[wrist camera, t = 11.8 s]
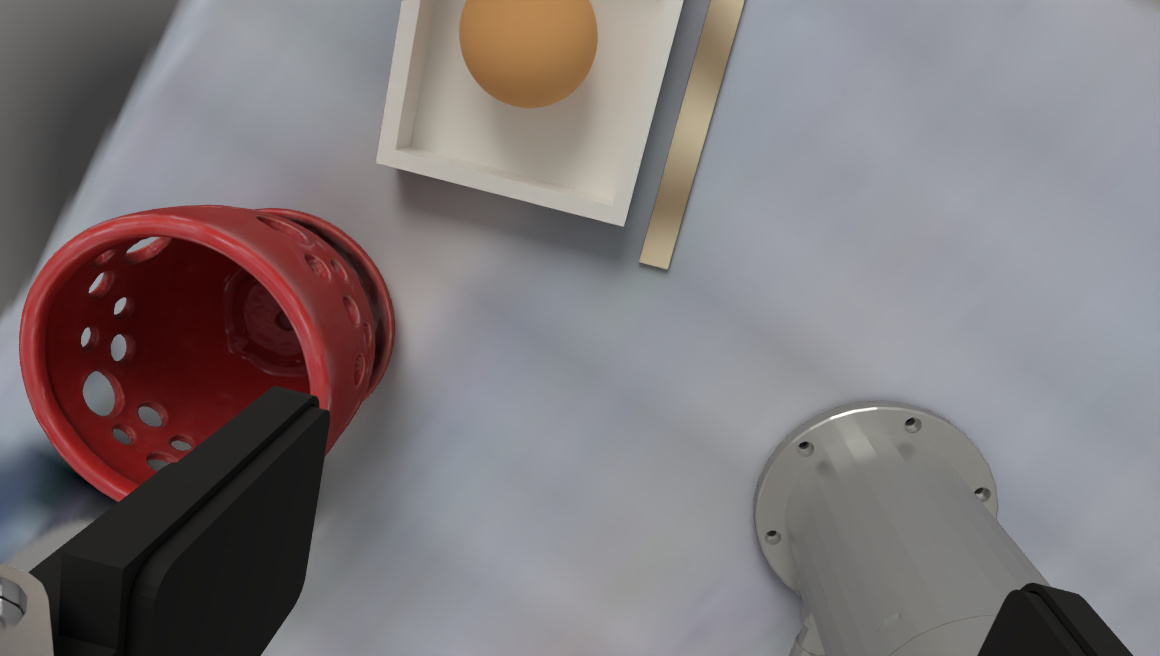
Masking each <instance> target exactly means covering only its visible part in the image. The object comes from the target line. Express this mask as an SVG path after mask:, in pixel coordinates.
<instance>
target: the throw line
mask: <svg viewBox="0 0 1160 656" xmlns="http://www.w3.org/2000/svg"><path fill="white" fill-rule="evenodd" d="M744 1H745V0H710V4H709V7H708V11H707V15H706V18H705V22H704V26H703V29H702V33H701V37H700V40H699V44H698V47H697V51H696V55H695V58H694V62H693V66H692V69H691V73H690V77H689V80H688V84H687V88H686V91H685V95H684V99H683V102H682V106H681V110H680V113H679V117H678V121H677V124H676V128H675V131H674V135H673V139H672V142H671V146H670V150H669V153H668V157H667V161H666V164H665V168H664V172H663V175H662V179H661V183H660V186H659V190H658V194H657V197H656V201H655V205H654V208H653V212H652V215H651V219H650V223H649V226H648V230H647V234H646V237H645V241H644V245H643V248H642V252H641V256H640V259H639V262H641V263H644V264H648V265H652V266H656V267H660V268H664V269H668V266H669V263H670V259H671V256H672V252H673V249H674V245H675V242H676V238H677V235H678V231H679V228H680V224H681V221H682V217H683V214H684V210H685V207H686V203H687V200H688V196H689V193H690V189H691V186H692V182H693V179H694V175H695V172H696V169H697V165H698V162H699V158H700V155H701V151H702V148H703V144H704V141H705V137H706V134H707V130H708V127H709V123H710V120H711V116H712V113H713V109H714V106H715V102H716V99H717V95H718V92H719V88H720V85H721V81H722V78H723V74H724V71H725V67H726V64H727V60H728V57H729V53H730V50H731V46H732V43H733V39H734V36H735V32H736V29H737V25H738V22H739V18H740V15H741V11H742V8H743V4H744Z"/></svg>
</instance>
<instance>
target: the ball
mask: <svg viewBox="0 0 1160 656" xmlns="http://www.w3.org/2000/svg"><path fill="white" fill-rule="evenodd" d="M459 39H460V47H461V51H462V55H463V58H464V61H465V63H466V66H467V68H468V69H469V71H470V73H471V75H472V76H473V78H474V79H475V81H476V82H477V83H478V84H479V85H480V86H481V87H482V88H483V89H484V90H485V91H486V92H487V93H488V94H490V95H491V96H493V97H494V98H496V99H497V100H499V101H502V102H504V103H506V104H509V105H512V106H516V107H521V108H540V107H544V106H548V105H551V104H554V103H556V102H559V101H560V100H562V99H564V98H566V97H567V96H568V95H570V94H571V93H572V92H574V91H575V90H576V89H577V88H578V87H579V86H580V84H581V83H582V82H583V81H584V79H585V78H586V76H587V74H588V73H589V71H590V69H591V66H592V64H593V61H594V58H595V55H596V50H597V42H598V31H597V23H596V18H595V14H594V11H593V8H592V5H591V3H590V1H589V0H466V2H465V5H464V7H463V10H462V14H461V18H460V26H459Z"/></svg>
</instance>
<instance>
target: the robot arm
mask: <svg viewBox="0 0 1160 656" xmlns="http://www.w3.org/2000/svg"><path fill="white" fill-rule="evenodd" d="M319 407H320V405H319V399H318V397H317V396H313V395H310V394H306V393H302V392H298V391H294V390H290V389H287V388H283V387H279V386H274V387H272V388H270V389H269V390H268V391H266V392H265V393H264V394H263V395H261V396H260V397H259V398H257V399H256V400H255V401H254V402H252V403H251V404H250V405H249V406H247V407H246V408H245V409H244V410H242V411H241V412H240V413H238V414H237V415H236V416H235V417H233V418H232V419H231V420H230V421H228V422H227V423H226V424H225V425H223V426H222V427H221V428H219V429H218V430H217V431H216V432H214V433H213V434H212V435H211V436H209V437H208V438H207V439H206V440H204V441H203V442H202V443H200V444H199V445H198V446H197V447H195V448H194V449H193V450H192V451H190V452H189V453H188V454H187V455H185V456H184V457H183V458H181V459H180V460H179V461H178V462H172V463H170V464H168V465H167V466H165V467H163V468H162V469H160V470H159V471H158V472H157V473H155V474H154V475H153V476H151V477H150V478H149V479H148V480H146V481H145V482H144V483H142V484H141V485H140V486H139V487H137V488H136V489H135V490H133V491H132V492H131V493H130V494H128V495H127V496H126V497H124V498H123V499H122V500H121V501H119V502H118V503H117V504H115V505H114V506H113V507H112V508H110V509H109V510H108V511H106V512H105V513H104V514H103V515H101V516H100V517H99V518H97V519H96V520H95V521H94V522H92V523H91V524H90V525H88V526H87V527H86V528H85V529H83V530H82V531H81V532H80V533H78V534H77V535H76V536H74V537H73V538H72V539H70V540H69V541H68V542H67V543H66V544H64V545H63V546H62V547H60V548H59V549H58V550H56V551H55V552H54V553H52V554H51V555H50V556H49V557H47V558H46V559H45V560H43V561H42V562H41V563H40V564H38V565H37V566H36V567H35V568H33V569H32V570H31V571H29V572H25V571H22V570H19V569H16V568H14V567H11V566H8V565H0V656H261V654H262V653H263V651H264V650H265V648H266V647H267V645H268V644H269V643H270V641H271V640H272V638H273V637H274V635H275V634H276V632H277V631H278V629H279V628H280V626H281V625H282V624H283V622H284V621H285V619H286V618H287V616H288V615H289V613H290V612H291V610H292V609H293V607H294V606H295V604H296V602H297V600H298V598H299V596H300V593H301V591H302V588H303V585H304V581H305V576H306V570H307V564H308V558H309V551H310V545H311V539H312V532H313V526H314V520H315V514H316V507H317V501H318V495H319V488H320V482H321V476H322V470H323V463H324V457H325V451H326V444H327V438H328V432H329V426H330V412H329V410H325V409H321V408H319ZM910 418H912V420H911V421H910V422H906V421H907V420H908V419H910ZM802 442H807V443H806V444H805V445H803V446H800V445H799V444H800V443H802ZM976 489H977V490H976ZM997 512H998V499H997V489H996V484H995V481H994V478H993V475H992V472H991V469H990V467H989V465H988V463H987V462H986V460H985V459H984V457H983V455H982V454H981V452H980V451H979V449H978V448H977V447H976V446H975V444H974V443H973V442H972V441H971V440H970V439H969V438H968V437H967V436H966V435H965V434H964V433H963V432H962V431H961V430H959V429H958V428H957V427H956V426H955V425H953V424H952V423H951V422H950V421H948V420H946V419H945V418H943V417H941V416H939V415H937V414H935V413H933V412H931V411H930V410H927V409H923V408H920V407H917V406H914V405H910V404H907V403H898V402H890V401H871V402H859V403H854V404H850V405H846V406H841V407H837V408H835V409H832V410H830V411H827V412H825V413H823V414H820V415H818V416H816V417H814V418H812V419H811V420H809V421H808V422H806V423H805V424H803V425H801V426H800V427H798V428H797V429H796V430H794V431H793V432H792V433H791V434H790V435H789V436H788V437H787V438H786V439H785V440H784V441H783V442H781V443H780V445H779V446H778V447H777V449H776V450H775V451H774V453H773V454H772V455H771V457H770V458H769V459H768V461H767V463H766V465H765V467H764V469H763V472H762V474H761V476H760V478H759V481H758V485H757V489H756V493H755V498H754V521H755V526H756V531H757V536H758V539H759V542H760V545H761V549H762V552H763V554H764V556H765V558H766V559H767V561H768V563H769V565H770V566H771V568H772V570H773V571H774V572H775V573H776V574H777V576H778V577H779V578H780V579H781V580H782V581H783V582H784V584H785V585H787V586H788V587H789V588H790V589H792V590H793V591H794V592H796V593H797V594H798V595H800V596H801V598H802V601H803V606H802V608H801V611H800V619H801V620H802V622H803V626H802V629H801V631H800V634H798V635H797V637H796V639H795V642H794V644H793V647H792V649H791V652H790V654H789V656H1133V655H1132V654H1131V652H1130V651H1129V650H1128V649H1127V648H1126V647H1125V646H1124V644H1123V643H1122V642H1121V641H1120V640H1119V639H1118V637H1117V636H1116V635H1115V634H1114V633H1113V632H1112V631H1111V629H1110V628H1109V627H1108V626H1107V625H1106V624H1105V622H1104V621H1103V620H1102V619H1101V618H1100V617H1099V616H1098V614H1097V613H1096V612H1095V611H1094V610H1093V609H1092V607H1091V606H1090V605H1089V604H1088V603H1087V602H1086V601H1085V599H1084V598H1082V597H1081V596H1080V595H1079V594H1076V593H1072V592H1068V591H1064V590H1060V589H1056V588H1053V587H1051V586H1050V584H1049V583H1048V582H1047V581H1046V580H1045V578H1044V577H1043V576H1042V575H1041V574H1040V572H1039V571H1038V570H1037V569H1036V567H1035V566H1034V565H1033V564H1032V563H1031V561H1030V560H1029V559H1028V558H1027V556H1026V555H1025V554H1024V553H1023V552H1022V550H1021V549H1020V548H1019V547H1018V546H1017V544H1016V543H1015V542H1014V541H1013V539H1012V538H1011V537H1010V536H1009V535H1008V533H1007V532H1006V531H1005V530H1004V528H1003V527H1002V526H1001V525H1000V524H999V522H998V521H997ZM769 531H773V532H769Z"/></svg>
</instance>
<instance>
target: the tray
mask: <svg viewBox="0 0 1160 656" xmlns="http://www.w3.org/2000/svg"><path fill="white" fill-rule="evenodd" d="M589 1H590V3H591V5H592V8H593V11H594V14H595V18H596V23H597V31H598V42H597V50H596V55H595V58H594V61H593V64H592V66H591V69H590V71H589V73H588V74H587V76H586V78H585V79H584V81H583V82H582V83H581V84H580V86H579V87H578V88H577V89H576V90H575V91H574V92H572V93H571V94H570V95H568V96H567V97H566V98H564V99H562V100H560V101H559V102H556V103H554V104H551V105H548V106H544V107H540V108H521V107H516V106H512V105H509V104H506V103H504V102H502V101H499V100H497V99H496V98H494V97H493V96H491V95H490V94H488V93H487V92H486V91H485V90H484V89H483V88H482V87H481V86H480V85H479V84H478V83H477V82H476V81H475V79H474V78H473V76H472V75H471V73H470V71H469V69H468V68H467V66H466V63H465V61H464V58H463V55H462V51H461V47H460V39H459V26H460V18H461V14H462V10H463V7H464V5H465V2H466V0H402V4H401V10H400V16H399V23H398V29H397V35H396V41H395V47H394V54H393V60H392V66H391V72H390V79H389V85H388V91H387V97H386V103H385V110H384V116H383V122H382V128H381V134H380V141H379V147H378V153H377V159H376V163H378V164H382V165H386V166H390V167H394V168H398V169H402V170H405V171H409V172H413V173H417V174H421V175H425V176H429V177H433V178H436V179H440V180H444V181H448V182H452V183H456V184H460V185H464V186H468V187H471V188H475V189H479V190H483V191H487V192H491V193H495V194H499V195H502V196H506V197H510V198H514V199H518V200H522V201H526V202H530V203H533V204H537V205H541V206H545V207H549V208H553V209H557V210H561V211H564V212H568V213H572V214H576V215H580V216H584V217H588V218H592V219H595V220H599V221H603V222H607V223H611V224H615V225H619V226H623V227H624V224H625V220H626V217H627V213H628V209H629V205H630V202H631V198H632V194H633V190H634V186H635V183H636V179H637V175H638V171H639V167H640V164H641V160H642V156H643V152H644V148H645V145H646V141H647V137H648V133H649V130H650V126H651V122H652V118H653V114H654V111H655V107H656V103H657V99H658V95H659V92H660V88H661V84H662V80H663V77H664V73H665V69H666V65H667V61H668V58H669V54H670V50H671V46H672V42H673V39H674V35H675V31H676V27H677V24H678V20H679V16H680V12H681V8H682V5H683V1H684V0H589Z"/></svg>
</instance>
